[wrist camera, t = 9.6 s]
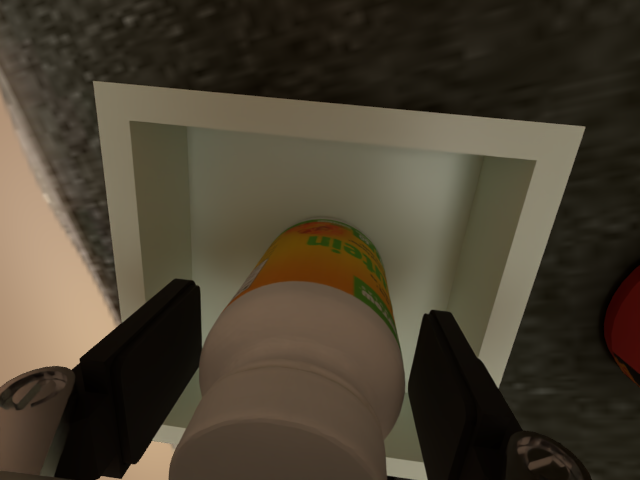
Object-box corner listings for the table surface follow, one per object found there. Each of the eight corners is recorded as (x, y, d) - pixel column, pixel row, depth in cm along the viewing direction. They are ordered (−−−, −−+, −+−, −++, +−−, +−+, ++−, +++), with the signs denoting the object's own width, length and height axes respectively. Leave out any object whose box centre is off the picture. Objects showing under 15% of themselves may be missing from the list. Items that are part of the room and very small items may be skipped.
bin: (171, 96, 14) (93, 80, 10) (508, 128, 13) (585, 126, 9) (185, 367, 18) (135, 438, 14) (437, 401, 18) (465, 487, 13)
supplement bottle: (408, 256, 14) (506, 491, 5) (342, 341, 16) (325, 629, 7) (302, 190, 14) (198, 319, 5) (246, 286, 15) (90, 515, 6)
